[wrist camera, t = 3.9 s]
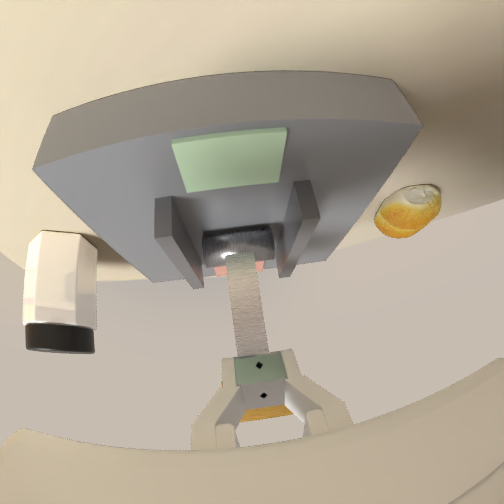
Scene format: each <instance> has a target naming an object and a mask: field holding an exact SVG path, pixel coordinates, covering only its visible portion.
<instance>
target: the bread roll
mask: <svg viewBox="0 0 504 504" xmlns="http://www.w3.org/2000/svg"><path fill="white" fill-rule="evenodd" d="M440 208H441V196H440V193H439V191H438V190H437V189H436V188H435V187H433V186H431V185H414V186H409V187H405V188H402V189H400V190H398V191H396V192H395V193H393V194H392V195H390V196H389V197H387V198H386V199H385V200H384V201H383V203H382V204H381V206H380V208H379V210H378V211H377V213H376V215H375V218H374V221H375V225H376V226H377V228H378V229H379V230H380V231H381V232H382V233H383V234H385V235H387V236H389V237H392V238H407V237H410V236H412V235H414V234H415V233H417V232H418V231H420V230H421V229H422V228H424V227H425V226H426V225H427V224H428V223H429V222H430V221H431V220H432V219H434V218H435V217H436V216H437V215H438V213H439V211H440Z"/></svg>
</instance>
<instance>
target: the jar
mask: <svg viewBox="0 0 504 504" xmlns="http://www.w3.org/2000/svg"><path fill="white" fill-rule="evenodd" d="M97 253H98V250H97V249H96V248H95V247H94V246H93V245H92V244H90V243H89V242H88V241H87V240H86V239H85V238H84V237H82V236H81V235H80V234H75V233H64V232H53V231H41V232H40V233H39V234H38V235H37V236H36V237H35V238H34V239H33V240H32V241H31V242H30V243H29V246H28V253H27V261H26V270H25V281H24V296H23V297H24V298H23V325H25V328H26V330H25V331H26V332H25V333H26V349H28V350H33V351H42V352H52V353H69V354H93V353H94V352H95V349H94V332H93V330H96V329H97V313H96V312H97V311H96V279H97Z"/></svg>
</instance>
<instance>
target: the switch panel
mask: <svg viewBox="0 0 504 504" xmlns="http://www.w3.org/2000/svg"><path fill="white" fill-rule="evenodd" d="M422 127H423V124H422V123H421V121H420V119H419V118H418V116H417V115H416V113H415V112H414V110H413V109H412V107H411V106H410V104H409V103H408V101H407V100H406V98H405V97H404V95H403V94H402V93H401V91H400V90H399V89H398V87H397V86H396V84H395V83H394V82H393V80H391V79H385V78H379V77H372V76H364V75H355V74H345V73H333V72H316V71H259V72H242V73H229V74H219V75H210V76H202V77H195V78H189V79H182V80H177V81H171V82H166V83H161V84H156V85H151V86H147V87H142V88H138V89H134V90H130V91H126V92H122V93H119V94H115V95H112V96H108V97H105V98H102V99H98V100H95V101H92V102H89V103H86V104H83V105H80V106H78V107H75V108H72V109H69V110H67V111H64V112H62V113H59V114H57V115H54V116H52V119H51V121H50V123H49V126H48V128H47V130H46V133H45V135H44V138H43V140H42V143H41V146H40V148H39V151H38V154H37V157H36V159H35V162H34V165H33V168H32V170H33V171H34V172H35V173H36V174H37V175H38V176H39V178H40V179H41V180H42V181H43V182H44V183H45V184H46V185H47V186H48V187H49V188H50V189H51V190H52V191H53V192H54V193H55V194H56V195H57V196H58V197H59V198H60V199H61V200H62V201H63V202H64V203H65V204H66V205H67V206H68V207H69V208H70V209H71V210H72V211H73V212H74V213H75V214H76V215H77V216H78V217H79V218H80V219H81V220H82V221H83V222H84V223H85V224H86V225H87V226H88V227H90V228H91V229H92V230H93V231H94V232H95V233H96V234H97V235H98V236H99V237H100V238H101V239H103V240H104V241H105V242H106V243H107V244H108V245H109V246H110V247H112V248H113V249H114V250H115V251H116V252H117V253H118V254H119V255H121V256H122V257H123V258H124V259H125V260H126V261H128V262H129V263H130V264H131V265H132V266H133V267H135V268H136V269H137V270H138V271H139V272H141V273H142V274H143V275H144V276H145V277H147V278H148V279H149V280H151V281H152V282H153V283H155V282H164V281H173V280H181V279H186V280H187V282H188V283H189V284H190V285H191V287H192V288H193V289H199V288H204V282H203V277H206V276H215V275H217V277H218V276H226V275H227V269H226V266H219V267H211V268H206V267H205V263H204V258H203V251H202V235H210V234H218V233H226V232H234V231H242V230H250V229H259V228H267V227H271V229H272V232H273V237H274V244H275V259H274V260H266V261H259V262H255V264H256V270H257V271H263V269H269V268H278V274H279V278H283V277H290V275H291V274H292V272H293V270H294V268H295V266H296V265H299V264H306V263H313V262H320V261H326V260H327V258H328V257H329V256H330V255H331V253H332V252H333V251H334V250H335V248H336V247H337V246H338V245H339V243H340V242H341V241H342V239H343V238H344V237H345V236H346V234H347V233H348V232H349V230H350V229H351V228H352V226H353V225H354V224H355V222H356V221H357V220H358V219H359V217H360V216H361V215H362V213H363V212H364V211H365V209H366V208H367V206H368V205H369V204H370V202H371V201H372V200H373V198H374V197H375V196H376V194H377V193H378V191H379V190H380V189H381V187H382V186H383V184H384V183H385V182H386V180H387V179H388V177H389V176H390V175H391V173H392V172H393V170H394V169H395V167H396V166H397V165H398V163H399V162H400V160H401V159H402V157H403V156H404V154H405V153H406V151H407V150H408V148H409V147H410V145H411V144H412V142H413V141H414V139H415V138H416V136H417V135H418V133H419V132H420V130H421V128H422Z"/></svg>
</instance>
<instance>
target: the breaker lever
mask: <svg viewBox="0 0 504 504" xmlns="http://www.w3.org/2000/svg"><path fill="white" fill-rule="evenodd" d="M202 251H203V258H204V263H205V267H206V268H211V267H219V266H226V269H227V277H228V285H229V293H230V301H231V309H232V316H233V325H234V332H235V339H236V346H237V354H238V357H241V356H250V355H257V354H263V353H269V350H268V343H267V337H266V330H265V323H264V317H263V311H262V303H261V297H260V291H259V284H258V277H257V270H256V264H255V262H259V261H266V260H274V259H275V244H274V237H273V232H272V229H271V227H267V228H259V229H250V230H242V231H234V232H226V233H218V234H210V235H202ZM222 388H223V381H222ZM291 414H294V413H293V412H291V411H290V410H289V409H288V408H287V407H286V406H285V404H284V405H277V406H270V407H263V408H257V409H250V410H245V413H244V415H243V417H242V419H241V421H240V422H244V421H253V420H260V419H267V418H273V417H280V416H286V415H291Z"/></svg>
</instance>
